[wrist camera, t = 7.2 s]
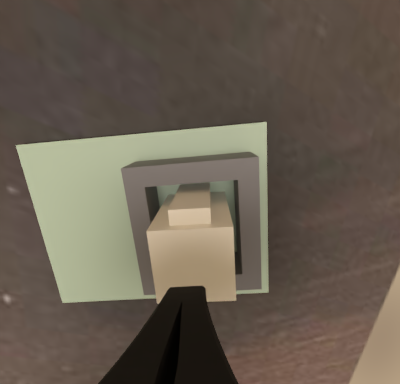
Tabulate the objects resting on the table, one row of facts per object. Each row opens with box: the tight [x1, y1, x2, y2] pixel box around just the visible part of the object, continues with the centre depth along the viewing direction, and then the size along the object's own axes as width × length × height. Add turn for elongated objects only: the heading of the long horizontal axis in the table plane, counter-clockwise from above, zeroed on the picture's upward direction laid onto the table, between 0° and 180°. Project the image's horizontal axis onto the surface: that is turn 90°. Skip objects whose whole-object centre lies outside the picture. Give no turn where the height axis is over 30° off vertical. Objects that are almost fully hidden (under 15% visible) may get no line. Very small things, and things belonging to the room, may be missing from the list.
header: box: [16, 122, 269, 303], centre depth 16 cm, size 13×17×4 cm
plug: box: [146, 183, 236, 304], centre depth 14 cm, size 5×4×6 cm
